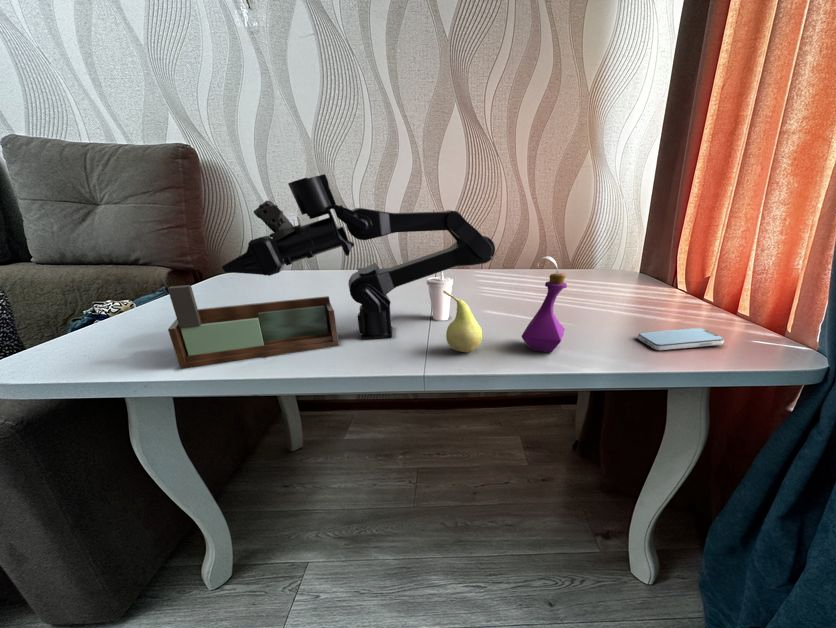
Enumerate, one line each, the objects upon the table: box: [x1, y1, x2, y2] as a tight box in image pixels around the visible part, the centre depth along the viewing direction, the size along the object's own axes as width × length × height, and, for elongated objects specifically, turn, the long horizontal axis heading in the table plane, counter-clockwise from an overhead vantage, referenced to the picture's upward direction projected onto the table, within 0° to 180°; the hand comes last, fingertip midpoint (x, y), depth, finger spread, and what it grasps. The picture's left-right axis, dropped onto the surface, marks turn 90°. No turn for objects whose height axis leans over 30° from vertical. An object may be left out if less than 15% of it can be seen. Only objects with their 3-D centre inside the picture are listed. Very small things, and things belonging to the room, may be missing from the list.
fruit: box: [443, 290, 483, 353], centre depth 72 cm, size 7×8×12 cm
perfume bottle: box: [521, 255, 568, 354], centre depth 72 cm, size 8×8×18 cm
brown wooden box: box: [167, 295, 340, 370], centre depth 73 cm, size 27×8×8 cm, turn 115°
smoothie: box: [425, 271, 454, 321], centre depth 91 cm, size 6×6×14 cm
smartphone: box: [637, 327, 725, 351], centre depth 78 cm, size 8×2×15 cm
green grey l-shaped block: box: [167, 284, 264, 356], centre depth 68 cm, size 12×2×13 cm, turn 115°
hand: (231, 265), depth 70 cm, fingers open, 9 cm apart
